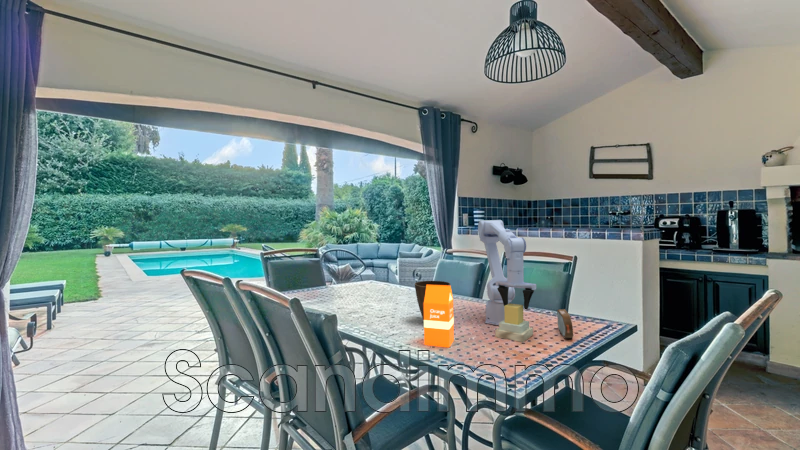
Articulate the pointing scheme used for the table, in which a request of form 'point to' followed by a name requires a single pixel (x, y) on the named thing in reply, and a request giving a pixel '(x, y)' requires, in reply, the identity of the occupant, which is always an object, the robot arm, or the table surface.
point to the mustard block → (513, 313)
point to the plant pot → (421, 290)
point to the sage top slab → (514, 327)
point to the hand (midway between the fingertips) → (515, 307)
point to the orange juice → (438, 316)
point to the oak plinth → (514, 335)
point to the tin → (565, 323)
